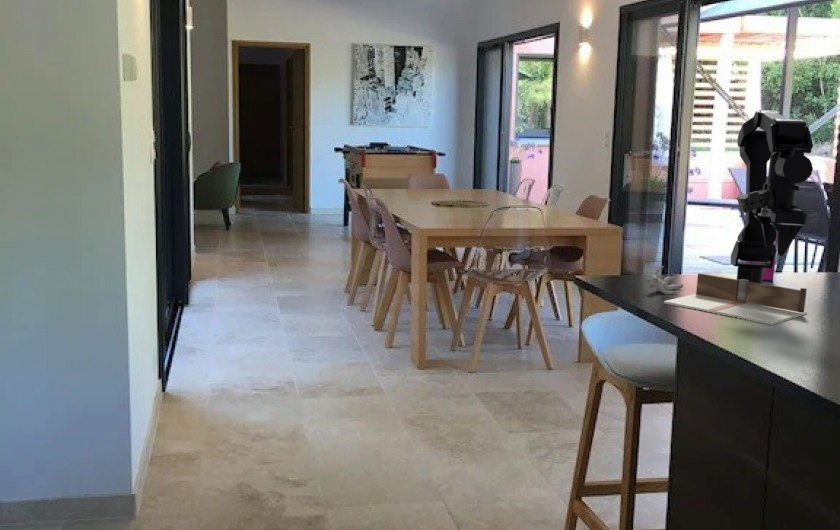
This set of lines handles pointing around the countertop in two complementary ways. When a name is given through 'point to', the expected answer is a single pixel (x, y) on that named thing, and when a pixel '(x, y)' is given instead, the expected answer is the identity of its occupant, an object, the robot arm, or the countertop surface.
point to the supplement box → (768, 270)
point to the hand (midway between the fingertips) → (773, 252)
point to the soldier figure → (664, 283)
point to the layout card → (735, 309)
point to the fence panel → (777, 296)
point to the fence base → (722, 287)
